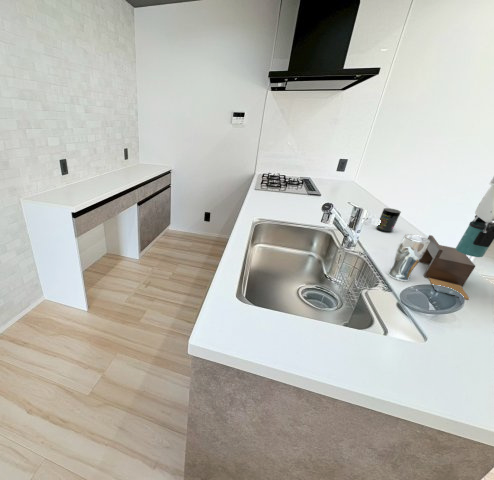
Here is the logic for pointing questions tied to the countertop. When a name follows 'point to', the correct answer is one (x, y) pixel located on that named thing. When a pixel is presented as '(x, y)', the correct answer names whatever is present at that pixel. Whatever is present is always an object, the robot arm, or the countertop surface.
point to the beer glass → (408, 256)
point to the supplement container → (388, 219)
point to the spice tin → (472, 240)
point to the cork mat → (450, 285)
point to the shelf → (446, 263)
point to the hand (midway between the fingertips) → (476, 240)
